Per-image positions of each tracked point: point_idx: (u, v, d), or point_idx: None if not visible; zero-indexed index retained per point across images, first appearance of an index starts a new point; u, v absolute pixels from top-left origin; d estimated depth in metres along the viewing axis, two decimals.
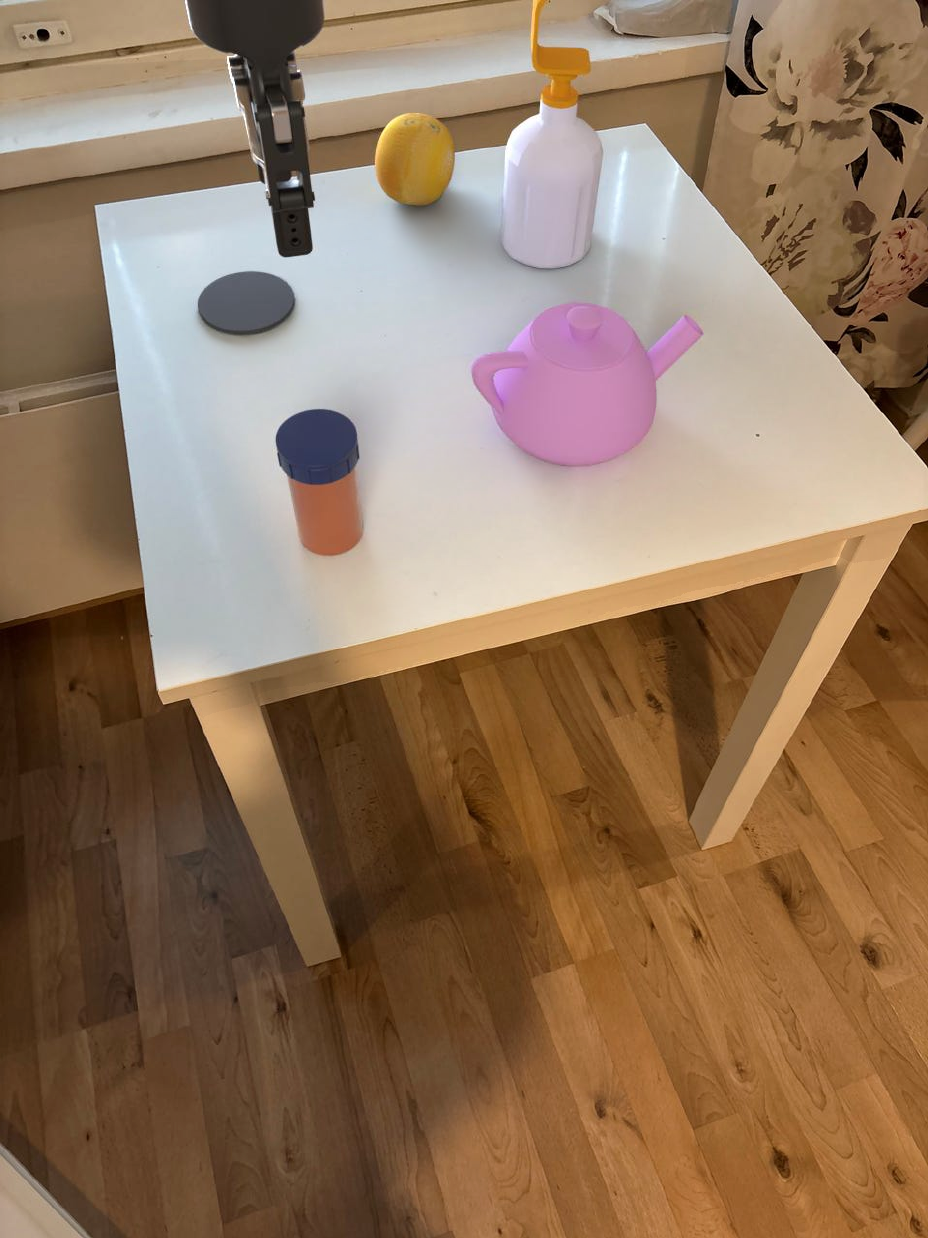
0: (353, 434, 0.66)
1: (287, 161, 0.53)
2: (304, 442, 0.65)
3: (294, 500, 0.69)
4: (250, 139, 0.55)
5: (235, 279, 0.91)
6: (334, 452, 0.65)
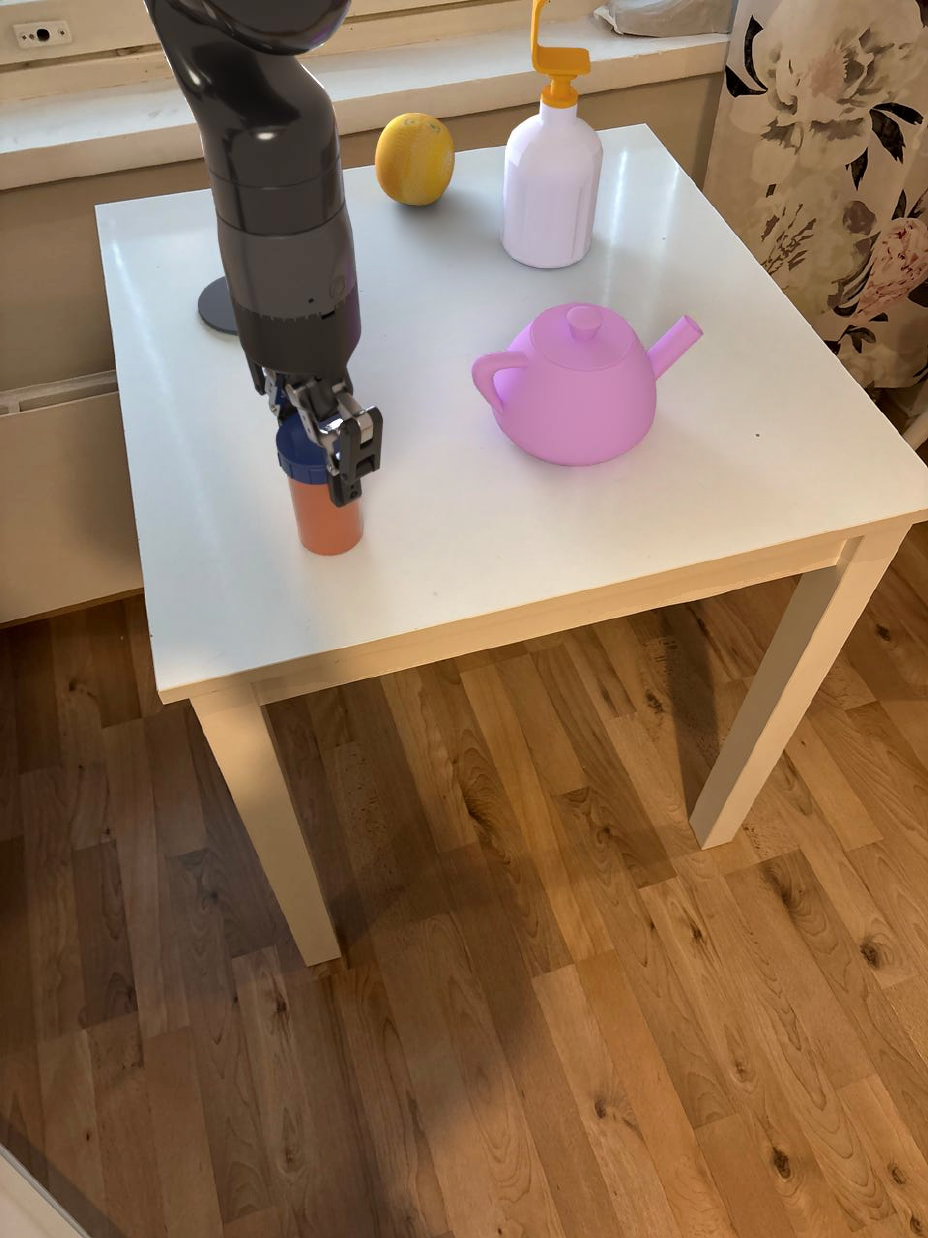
0: None
1: (366, 452, 0.60)
2: (304, 442, 0.65)
3: (294, 500, 0.69)
4: (314, 433, 0.61)
5: None
6: None
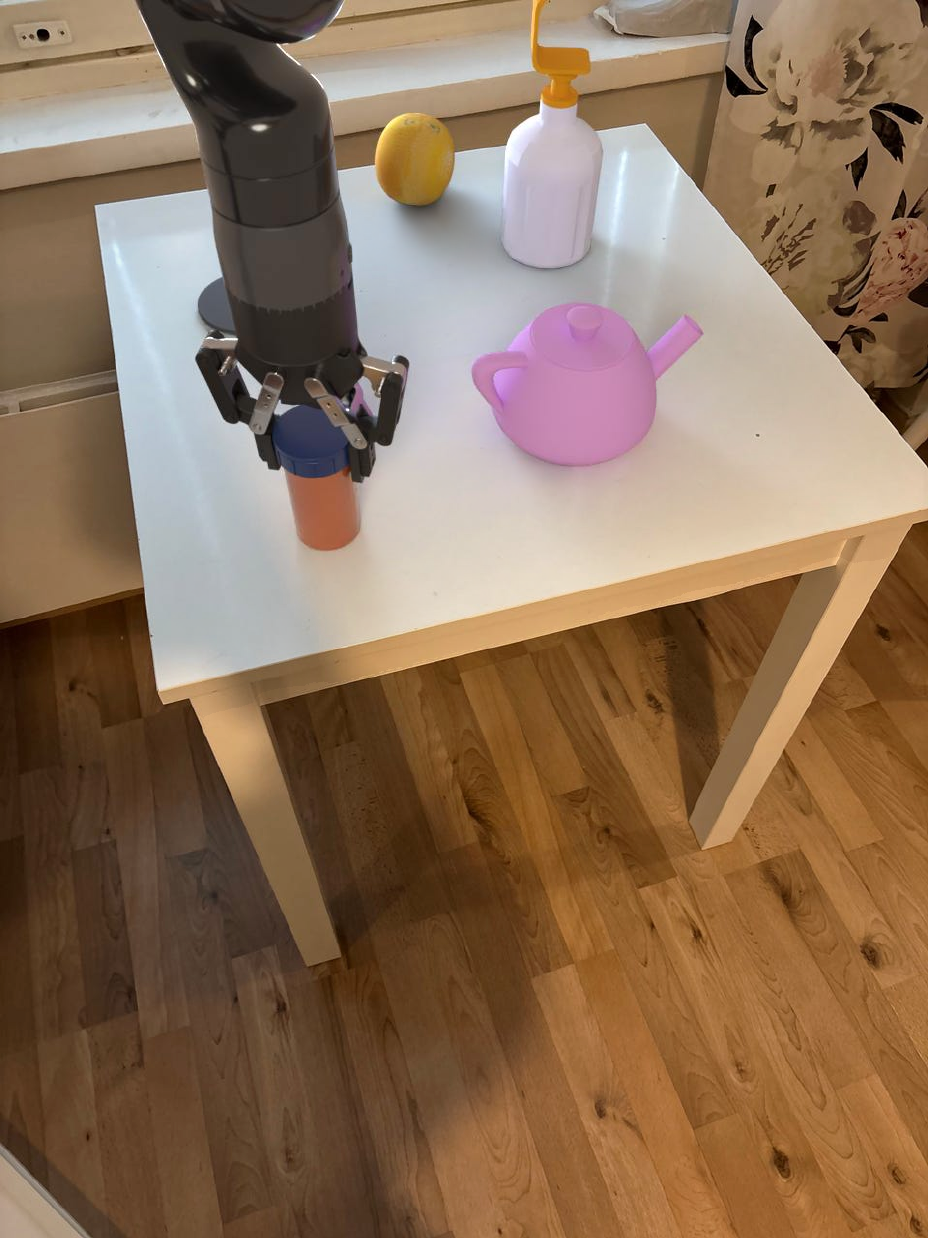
0: None
1: (400, 403, 0.62)
2: (309, 439, 0.65)
3: (292, 496, 0.69)
4: (343, 413, 0.62)
5: None
6: (342, 432, 0.66)
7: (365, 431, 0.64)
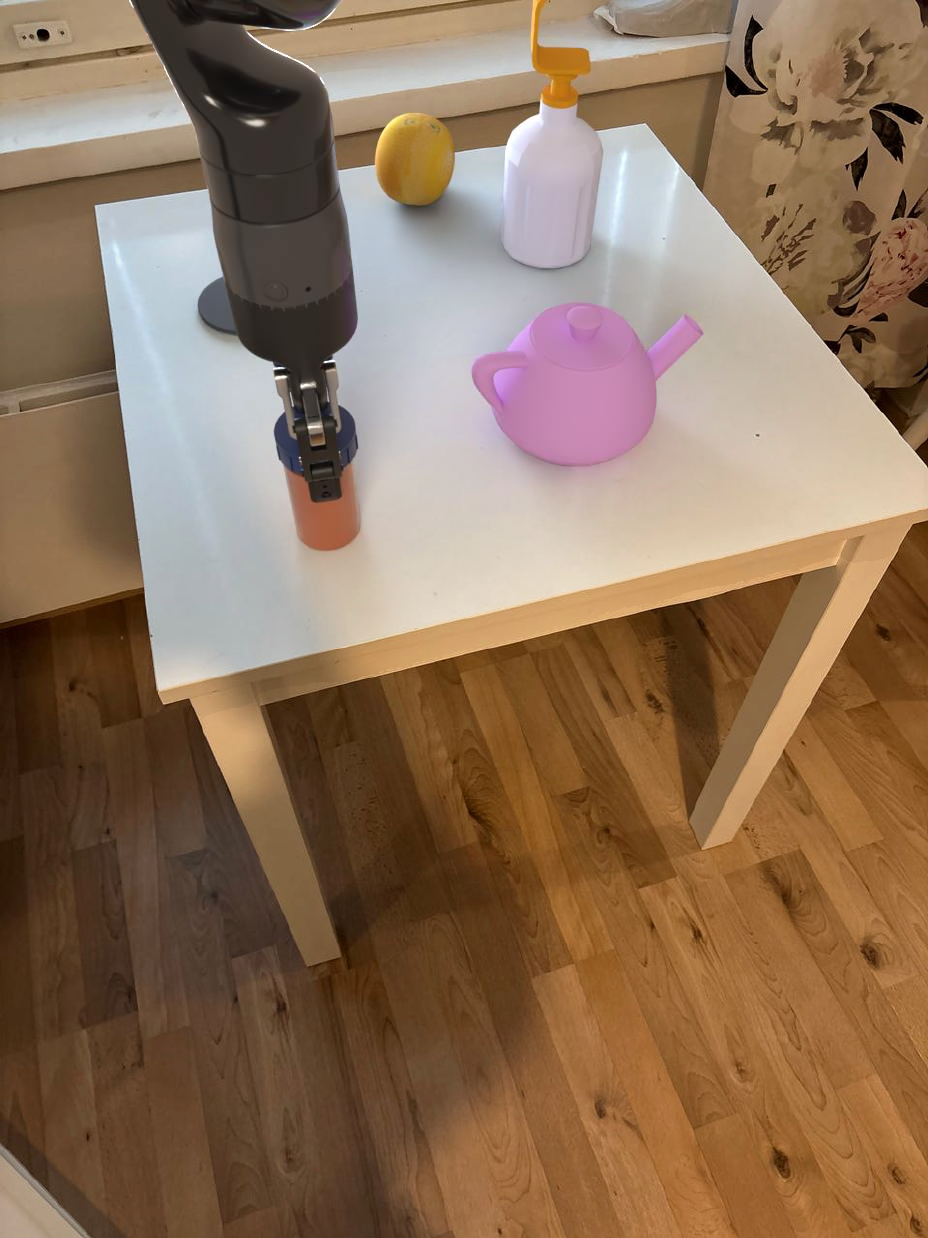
0: (281, 418, 0.66)
1: None
2: None
3: (292, 496, 0.69)
4: None
5: None
6: None
7: None
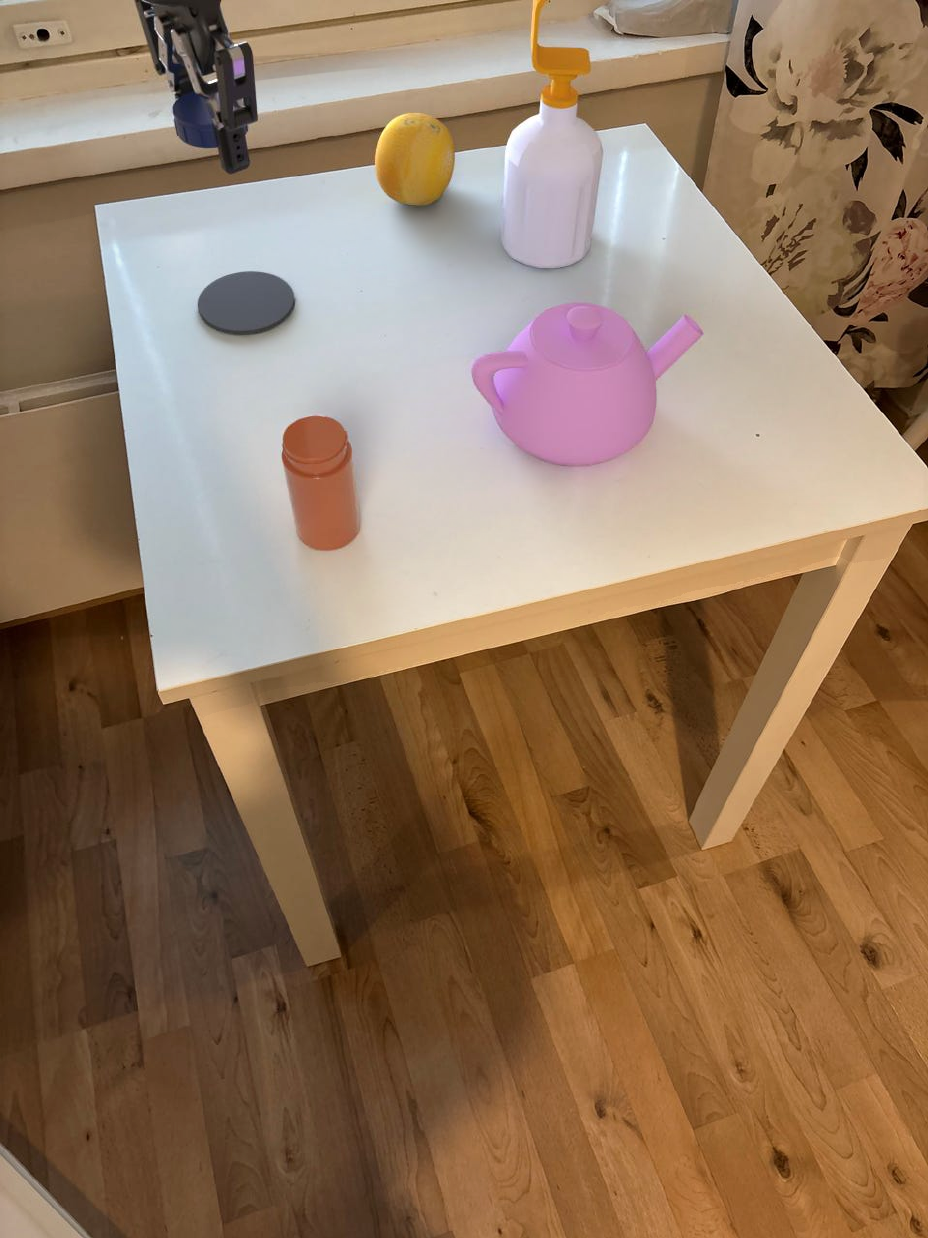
0: (175, 107, 0.74)
1: None
2: (219, 102, 0.75)
3: (292, 496, 0.69)
4: None
5: (235, 279, 0.91)
6: (193, 95, 0.75)
7: None
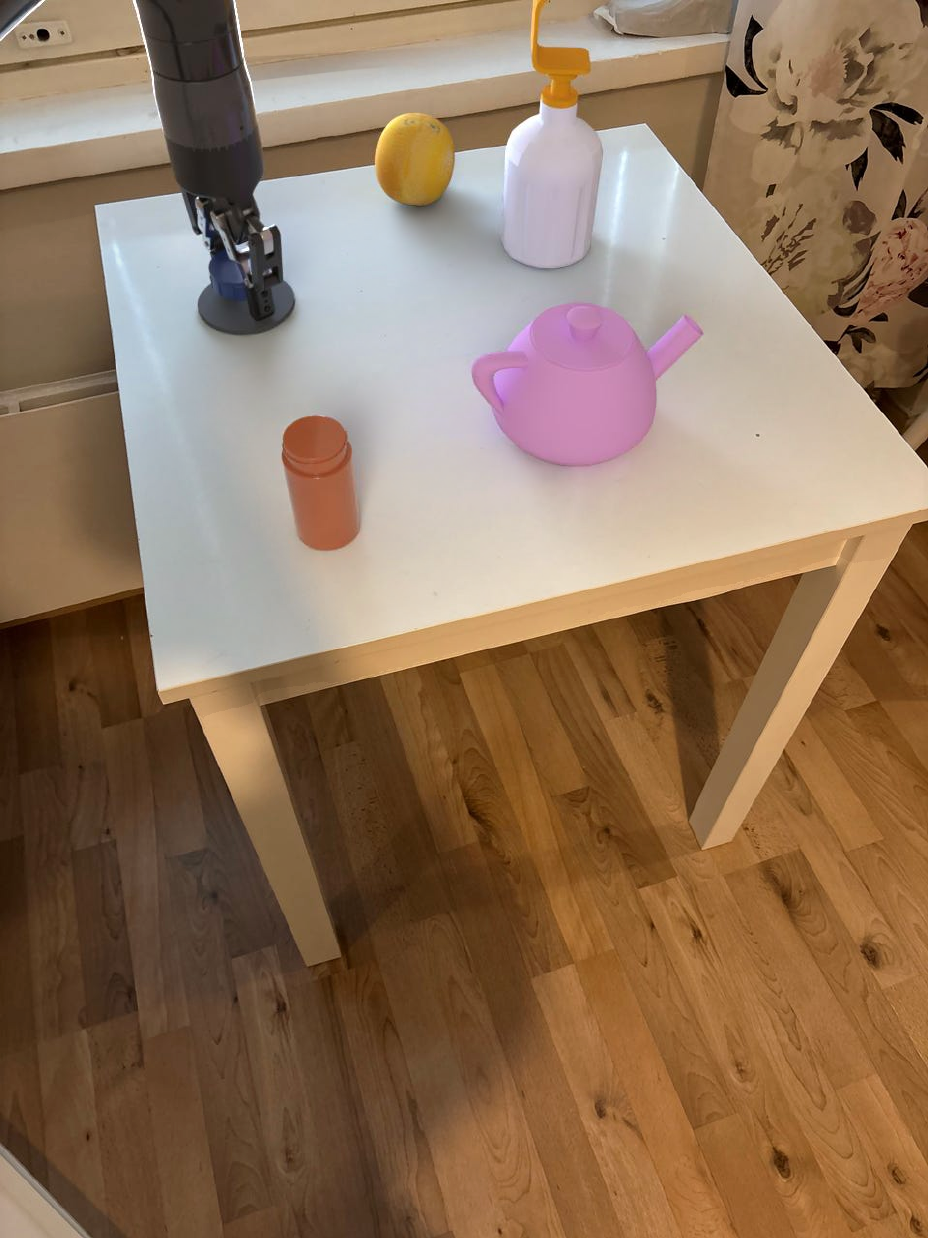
0: (210, 265, 0.86)
1: None
2: (248, 260, 0.87)
3: (292, 496, 0.69)
4: None
5: None
6: (226, 254, 0.87)
7: None
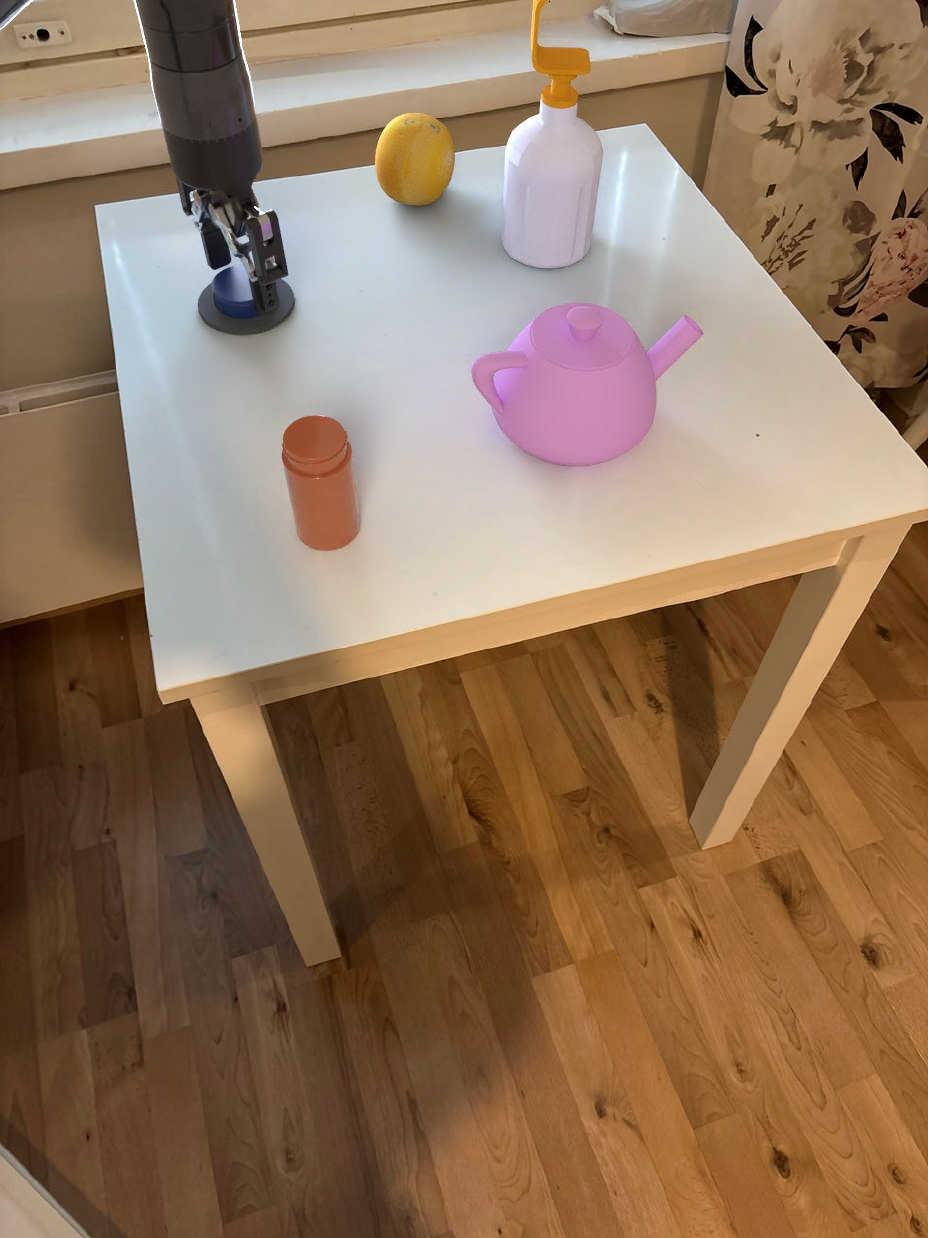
0: (214, 283, 0.88)
1: None
2: None
3: (292, 496, 0.69)
4: None
5: None
6: (229, 272, 0.89)
7: None
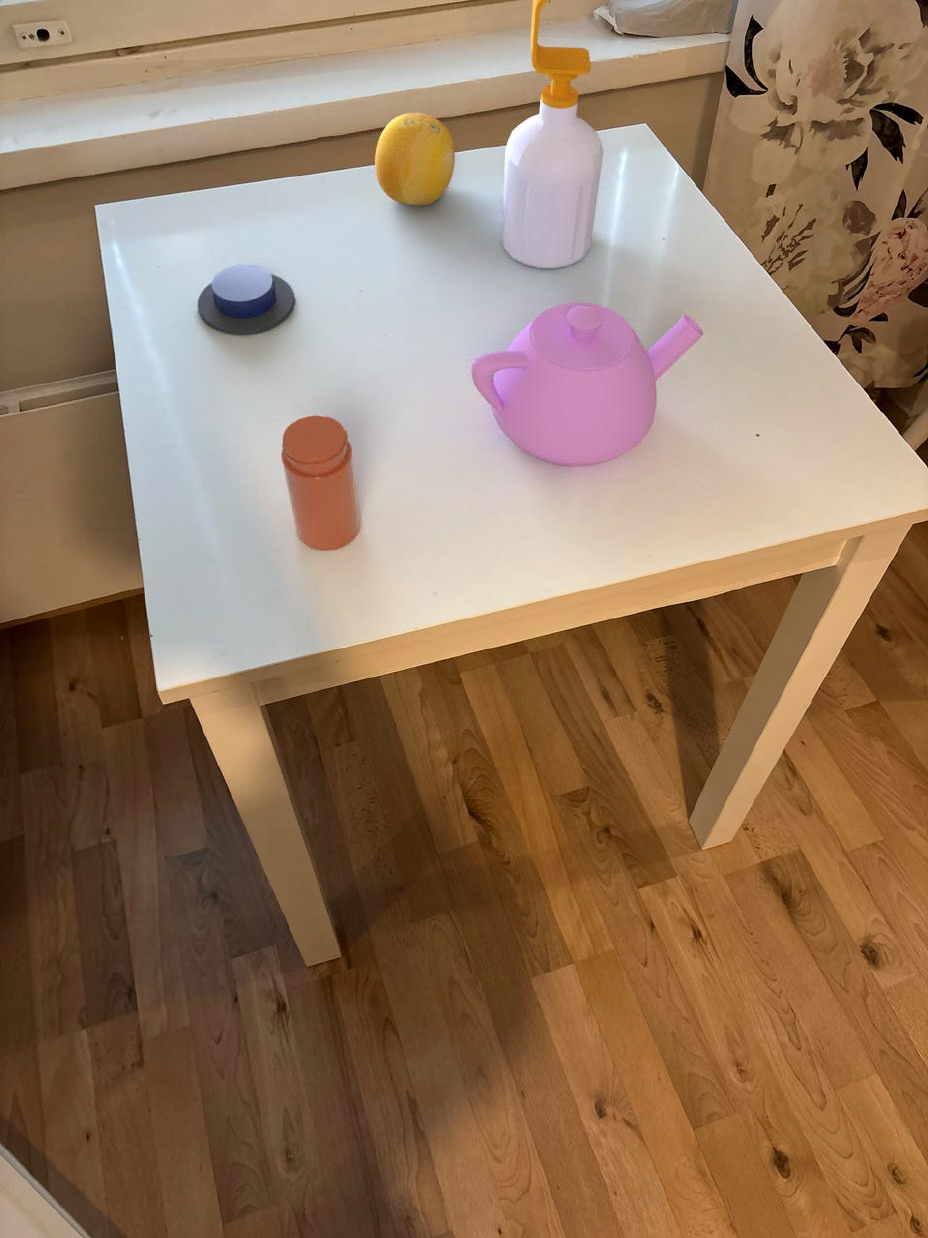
0: (214, 283, 0.88)
1: None
2: (251, 278, 0.88)
3: (292, 496, 0.69)
4: None
5: None
6: (229, 272, 0.89)
7: None
